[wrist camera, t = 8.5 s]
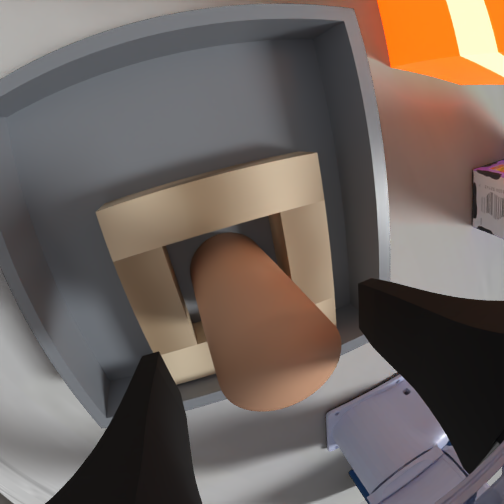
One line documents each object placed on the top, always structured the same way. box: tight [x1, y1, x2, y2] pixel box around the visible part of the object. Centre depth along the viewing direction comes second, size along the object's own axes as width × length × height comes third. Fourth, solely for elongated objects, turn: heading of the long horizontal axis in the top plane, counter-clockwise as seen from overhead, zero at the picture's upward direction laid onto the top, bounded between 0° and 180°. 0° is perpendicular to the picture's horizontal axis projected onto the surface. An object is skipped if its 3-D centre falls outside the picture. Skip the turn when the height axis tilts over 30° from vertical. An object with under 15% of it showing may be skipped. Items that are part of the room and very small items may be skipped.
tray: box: [0, 4, 390, 428], centre depth 13 cm, size 18×18×4 cm
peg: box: [190, 232, 341, 411], centre depth 12 cm, size 4×4×8 cm
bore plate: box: [96, 151, 337, 385], centre depth 15 cm, size 10×10×2 cm
